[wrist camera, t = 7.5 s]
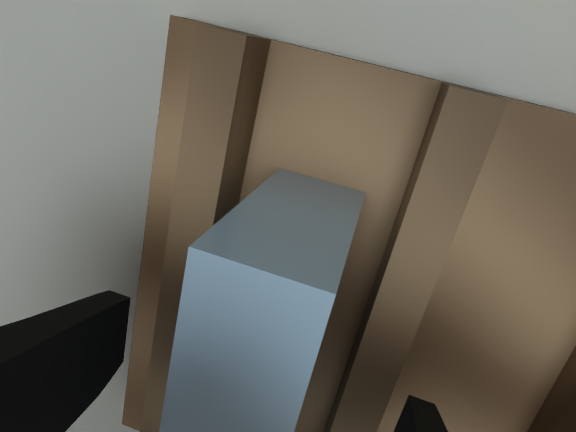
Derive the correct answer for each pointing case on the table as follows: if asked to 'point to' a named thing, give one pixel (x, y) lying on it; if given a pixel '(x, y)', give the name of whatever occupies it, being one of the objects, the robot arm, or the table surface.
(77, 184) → the table surface
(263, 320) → the tile
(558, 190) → the rack
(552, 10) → the table surface
